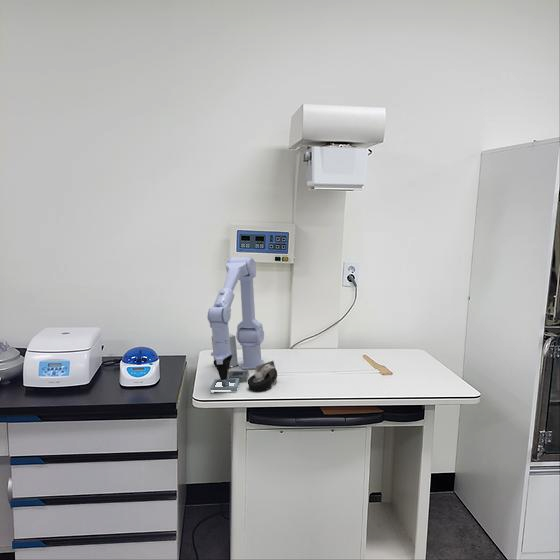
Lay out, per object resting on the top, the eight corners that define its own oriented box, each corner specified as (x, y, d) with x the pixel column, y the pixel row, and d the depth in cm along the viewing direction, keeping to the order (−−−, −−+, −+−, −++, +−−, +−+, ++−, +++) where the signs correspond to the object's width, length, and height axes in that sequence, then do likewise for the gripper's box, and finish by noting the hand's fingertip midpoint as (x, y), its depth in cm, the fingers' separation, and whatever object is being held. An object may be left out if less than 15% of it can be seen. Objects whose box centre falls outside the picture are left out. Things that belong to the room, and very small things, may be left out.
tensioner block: (230, 376, 188) (229, 371, 188) (248, 375, 188) (248, 370, 188) (227, 382, 181) (227, 377, 181) (246, 381, 181) (246, 376, 181)
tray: (215, 384, 181) (214, 379, 181) (239, 382, 181) (239, 378, 180) (210, 393, 172) (210, 388, 172) (236, 392, 172) (236, 386, 171)
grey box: (230, 361, 206) (227, 332, 204) (238, 366, 200) (235, 335, 198) (213, 366, 202) (210, 335, 201) (221, 370, 196) (219, 339, 194)
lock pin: (221, 384, 178) (220, 368, 177) (230, 383, 178) (229, 367, 177) (220, 387, 175) (219, 371, 174) (229, 387, 175) (228, 371, 174)
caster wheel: (253, 399, 170) (247, 386, 180) (284, 388, 172) (277, 375, 182) (248, 383, 168) (242, 370, 177) (279, 372, 170) (272, 359, 179)
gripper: (213, 335, 181) (216, 371, 183) (206, 346, 167) (209, 385, 169) (232, 334, 181) (235, 370, 183) (227, 345, 166) (230, 384, 168)
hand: (224, 377), depth 176 cm, fingers closed on lock pin, 3 cm apart
